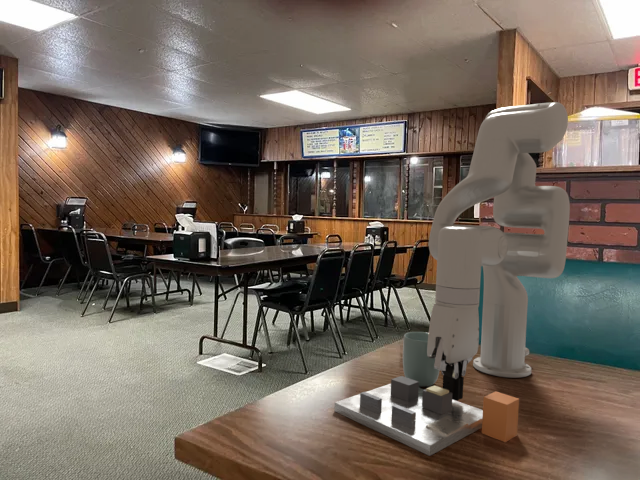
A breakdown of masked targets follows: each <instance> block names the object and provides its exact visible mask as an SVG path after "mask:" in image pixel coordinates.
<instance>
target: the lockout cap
mask: <svg viewBox="0 0 640 480" xmlns="http://www.w3.org/2000/svg"><path fill="white" fill-rule="evenodd" d="M482 401H483V403H482V410H483V419H482V428H481V434H483V435H485V436H488V437H490V438H493V439H495V440H499V441H501V442H504V443H507V442H508V441H510V440H512V439H514V438H515V437H517V436H518V428H519V427H518V426H519V425H518V424H519V412H520V411H519V407H520V398H519V397H514V396H513V395H508V394H506V393H503V392H499V391H496V390H495V391H494V392H492V393H489V394H487V395H485V396H483V399H482Z"/></svg>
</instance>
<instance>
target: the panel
mask: <svg viewBox="0 0 640 480" xmlns="http://www.w3.org/2000/svg"><path fill="white" fill-rule="evenodd" d="M423 390H425V389H423V388H421V387H419V391H418V398H417V399H414V400H411V401H409V402H407V401H405V400H402V399H399V398H397V397H394V396H392V395H391V383H388V384H386V385H383V386H379V387H376V388H373V389H370V390H368V391H363V392H360V393H358V394H355V395H353V396H352V395H351V396H350V397H346V398H344V399H340V400H338V401H334V412H335V413H338V414H339V415H342V416H343V417H346V418H347V419H350V420H352V421H355V422H357V423H358V424H361V425H362V426H364V427H367V428H369V429H371V430H374V431H375V432H378V433H380V434H382V435H384V436H386V437H389V438H391V439H393V440H394V441H397V442H399V443H401V444H403V445H405V446H408V447H410V448H411V449H413V450H416V451H418V452H420V453H423V454H424V455H427V456H432V455H434V454H435V453H438V452H439V451H442V450H443V449H445V448H447V447H449V446H451V445H453V444H455V443H456V442H458V441H460V440H462V439H463V438H465V437H467V436H469V435H471V434H473V433H474V432H476V431H478V430H480V429H482V419H483V409H481V408H478V407H476V406H472V405H469V404H466V403H464V402H460V401H459V400H457V401H456V400H453V399H452V410H451V411H449V412H447V413H445V414H442V415H441V414H438V413H436V412H433V411H431V410H428V409H425V408H423V407H422V395H423Z"/></svg>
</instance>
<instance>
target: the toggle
mask: <svg viewBox="0 0 640 480" xmlns="http://www.w3.org/2000/svg"><path fill="white" fill-rule="evenodd" d="M390 379H391V380H390V384H391V395H392V396H394V397H397V398H399V399H402V400H405V401H407V402H409V401H411V400H414V399H417V398H418V391H419V388H420V386H419V382H418V381H415V380H412V379H409V378H406V377H405V376H403V375H400V376H397V377H394V378H390Z"/></svg>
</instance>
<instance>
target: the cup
mask: <svg viewBox="0 0 640 480" xmlns="http://www.w3.org/2000/svg"><path fill="white" fill-rule="evenodd" d="M428 334H429V332H426V331H425V332H424V331H410V332H409V331H408V332H406V333H404V335H403V342H402V344H403V346H402V367H403V368H402V369H403V375H404V377H406V378H409V379H412V380H415V381H418V382H419V388H421V387H422V388H423V387H424V388H425V387H426V388H429V387H431V386H434V384H435V383H436V382H437V381H438V379H439V376H440V371H441V370H437V369H435V368H434V364H435V358H434V359H431V358H429V357H428V356H427V345H428Z"/></svg>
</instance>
